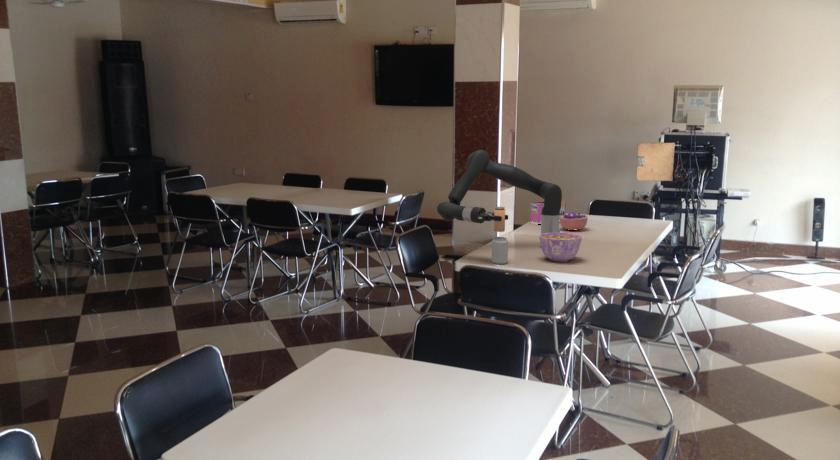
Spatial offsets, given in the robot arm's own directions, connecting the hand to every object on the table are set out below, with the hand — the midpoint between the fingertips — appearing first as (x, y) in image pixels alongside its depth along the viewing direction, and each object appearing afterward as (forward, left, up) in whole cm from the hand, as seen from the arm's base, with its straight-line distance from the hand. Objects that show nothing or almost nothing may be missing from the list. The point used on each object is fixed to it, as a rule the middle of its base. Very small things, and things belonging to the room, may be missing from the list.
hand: (504, 218), depth 322 cm
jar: (+2, -2, -6) cm, 7 cm away
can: (+2, -1, -21) cm, 22 cm away
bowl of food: (-28, -5, -21) cm, 36 cm away
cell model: (-61, -87, -22) cm, 108 cm away
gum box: (-54, -114, -22) cm, 128 cm away
